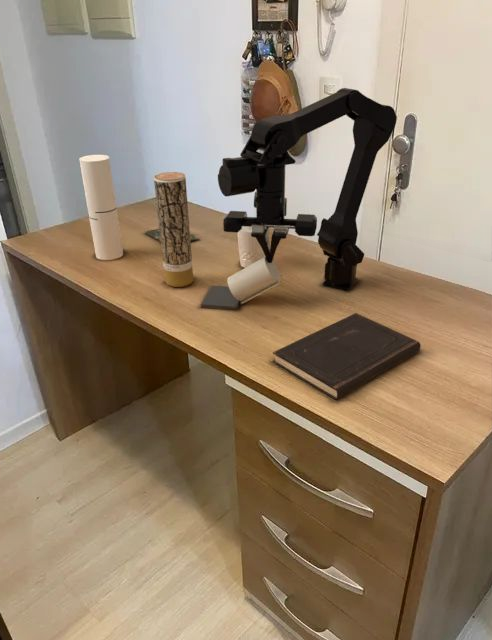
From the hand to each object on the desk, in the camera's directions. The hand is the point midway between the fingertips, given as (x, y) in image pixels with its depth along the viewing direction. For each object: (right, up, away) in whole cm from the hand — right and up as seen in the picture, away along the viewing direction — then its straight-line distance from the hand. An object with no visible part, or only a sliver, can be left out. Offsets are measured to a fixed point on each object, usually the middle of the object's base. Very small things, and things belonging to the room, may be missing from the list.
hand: (270, 262), depth 119 cm
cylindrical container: (-42, +7, +30) cm, 52 cm away
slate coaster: (-10, -7, +7) cm, 14 cm away
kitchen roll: (-4, -3, +3) cm, 5 cm away
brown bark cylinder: (-21, -2, +15) cm, 26 cm away
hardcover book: (+14, -21, -15) cm, 29 cm away
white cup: (-4, +3, +24) cm, 24 cm away
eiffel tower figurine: (-27, +14, +41) cm, 52 cm away
